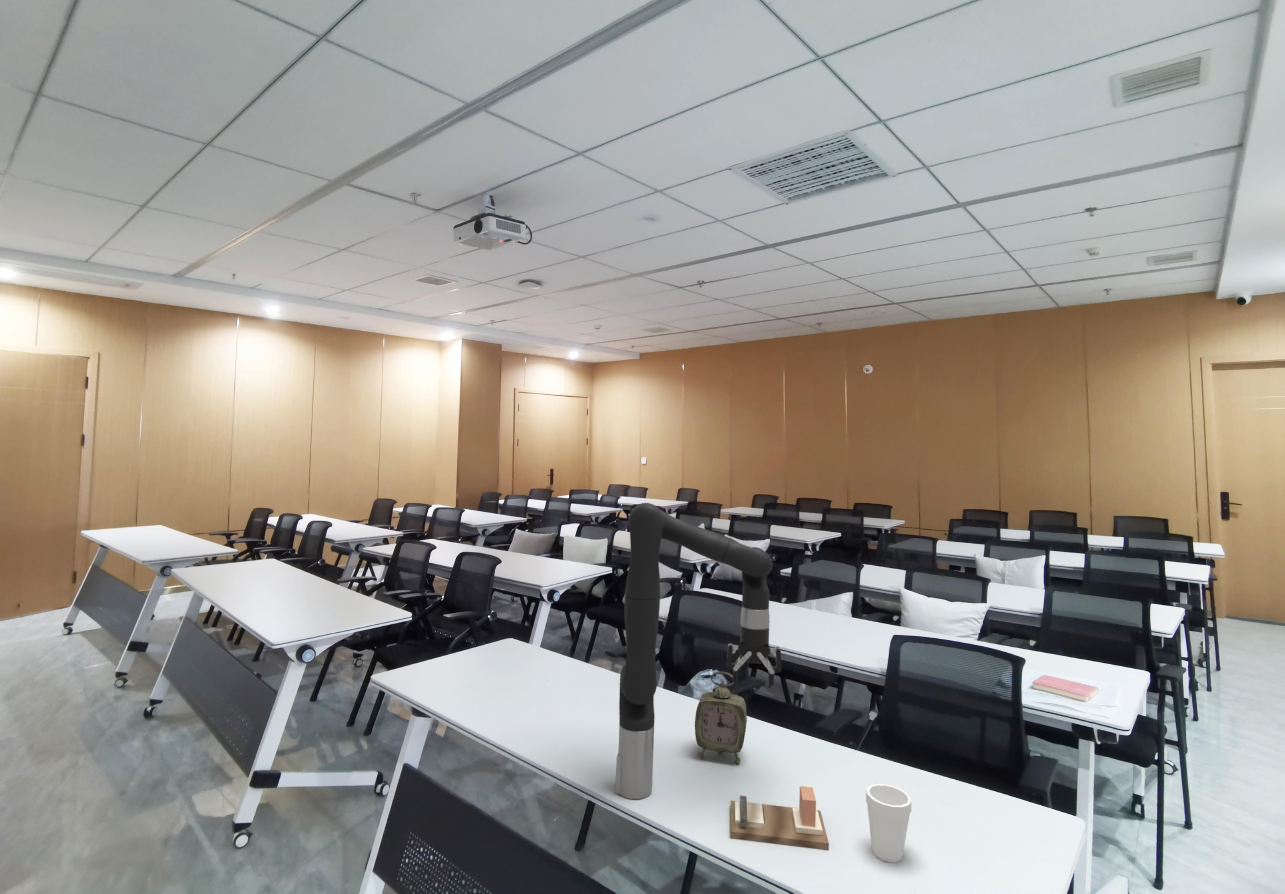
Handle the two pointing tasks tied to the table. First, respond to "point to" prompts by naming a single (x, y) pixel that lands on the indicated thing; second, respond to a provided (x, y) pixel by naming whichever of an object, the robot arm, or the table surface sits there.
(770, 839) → the stand
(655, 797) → the table surface
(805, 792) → the stub
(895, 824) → the foam cup
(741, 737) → the tabletop clock
